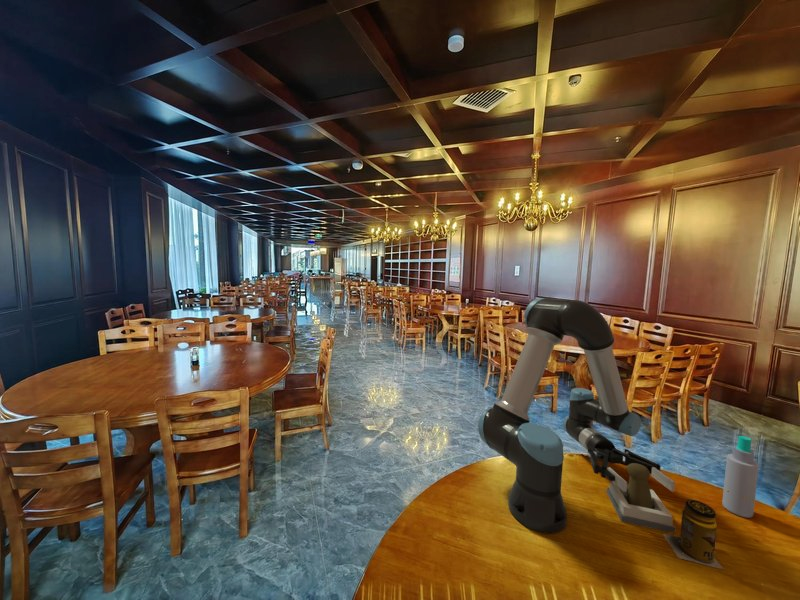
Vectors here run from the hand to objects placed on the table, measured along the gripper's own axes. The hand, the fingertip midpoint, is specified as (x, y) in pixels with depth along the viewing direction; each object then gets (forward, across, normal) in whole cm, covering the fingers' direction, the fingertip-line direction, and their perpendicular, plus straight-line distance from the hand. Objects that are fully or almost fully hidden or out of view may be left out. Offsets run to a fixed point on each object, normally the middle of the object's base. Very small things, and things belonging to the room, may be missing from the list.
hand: (649, 486), depth 83 cm
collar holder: (-3, 0, -10) cm, 10 cm away
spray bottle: (-3, -30, -10) cm, 31 cm away
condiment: (+10, -3, -10) cm, 14 cm away
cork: (-3, -1, -8) cm, 9 cm away
